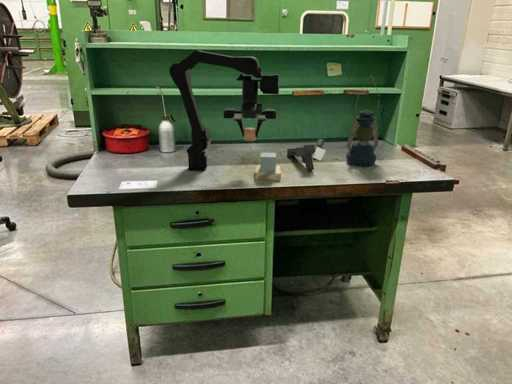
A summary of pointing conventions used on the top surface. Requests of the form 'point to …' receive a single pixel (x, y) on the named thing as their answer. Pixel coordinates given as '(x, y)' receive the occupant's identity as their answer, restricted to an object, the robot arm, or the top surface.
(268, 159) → the blue-grey cube
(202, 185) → the top surface
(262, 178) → the beech slab
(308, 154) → the handgun
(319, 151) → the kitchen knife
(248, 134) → the orange-tan rounded lump
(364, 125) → the lantern
